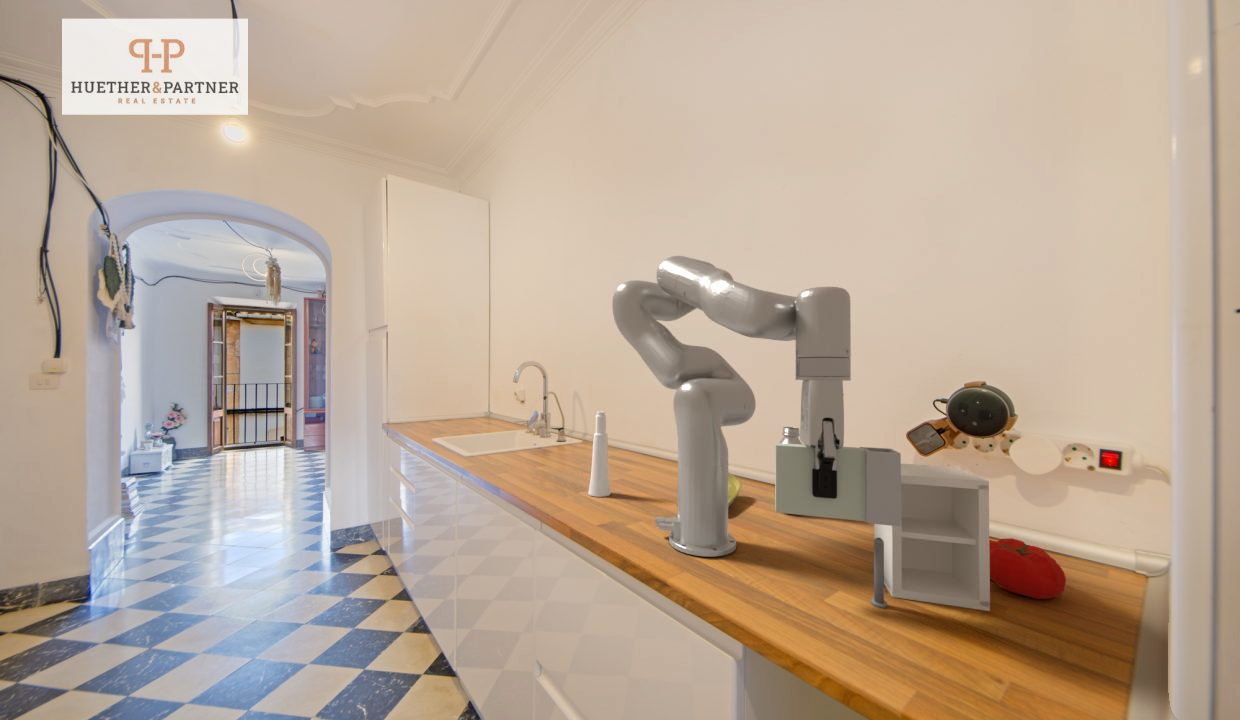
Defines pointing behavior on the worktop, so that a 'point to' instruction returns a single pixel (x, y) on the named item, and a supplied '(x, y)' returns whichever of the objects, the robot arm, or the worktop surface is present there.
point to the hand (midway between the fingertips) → (822, 493)
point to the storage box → (841, 484)
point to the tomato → (1025, 569)
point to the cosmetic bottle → (600, 460)
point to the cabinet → (936, 540)
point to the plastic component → (732, 488)
